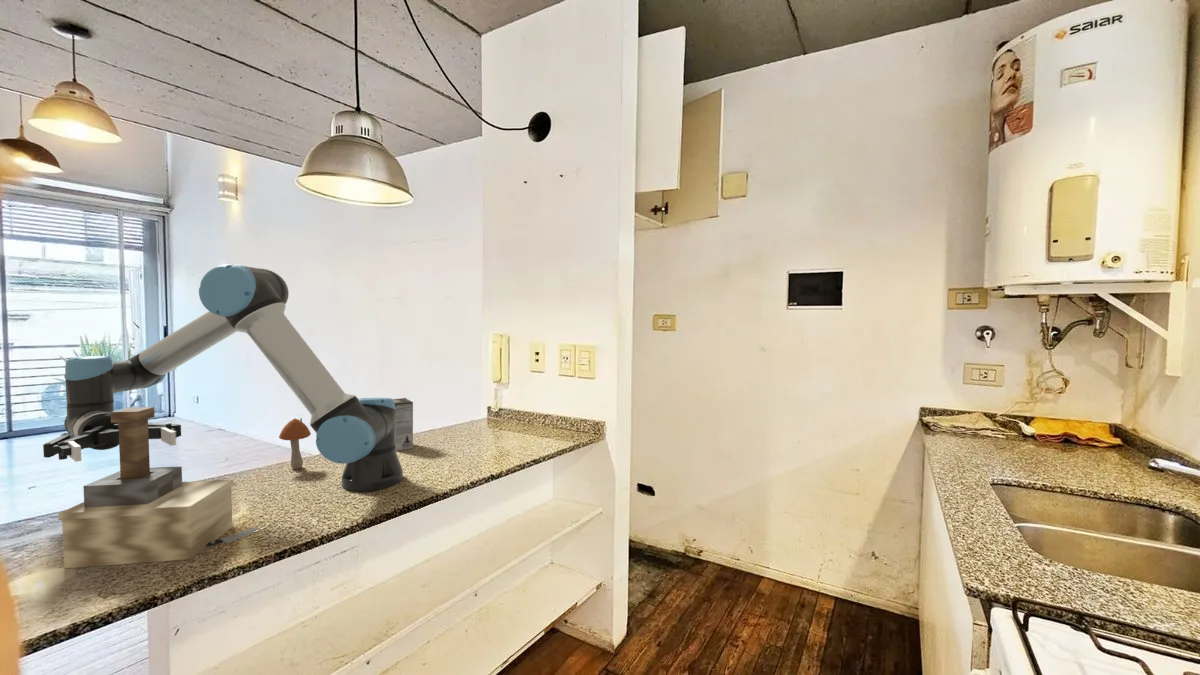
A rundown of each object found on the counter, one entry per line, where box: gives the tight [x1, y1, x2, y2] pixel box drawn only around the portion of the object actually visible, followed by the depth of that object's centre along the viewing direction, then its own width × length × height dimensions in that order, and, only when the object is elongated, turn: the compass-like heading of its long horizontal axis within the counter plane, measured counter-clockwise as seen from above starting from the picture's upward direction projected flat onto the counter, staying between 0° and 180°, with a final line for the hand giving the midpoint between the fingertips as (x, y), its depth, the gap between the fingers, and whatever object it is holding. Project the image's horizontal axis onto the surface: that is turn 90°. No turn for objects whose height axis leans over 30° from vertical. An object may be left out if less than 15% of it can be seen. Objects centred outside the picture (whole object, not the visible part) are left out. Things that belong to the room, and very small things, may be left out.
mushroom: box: [278, 418, 312, 470], centre depth 144 cm, size 8×8×15 cm
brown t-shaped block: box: [111, 406, 155, 480], centre depth 95 cm, size 4×4×17 cm
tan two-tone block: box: [57, 466, 234, 569], centre depth 96 cm, size 21×15×14 cm
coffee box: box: [392, 397, 414, 452], centre depth 168 cm, size 9×6×16 cm
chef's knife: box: [206, 526, 262, 548], centre depth 101 cm, size 19×1×3 cm
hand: (128, 445), depth 95 cm, fingers open, 13 cm apart
